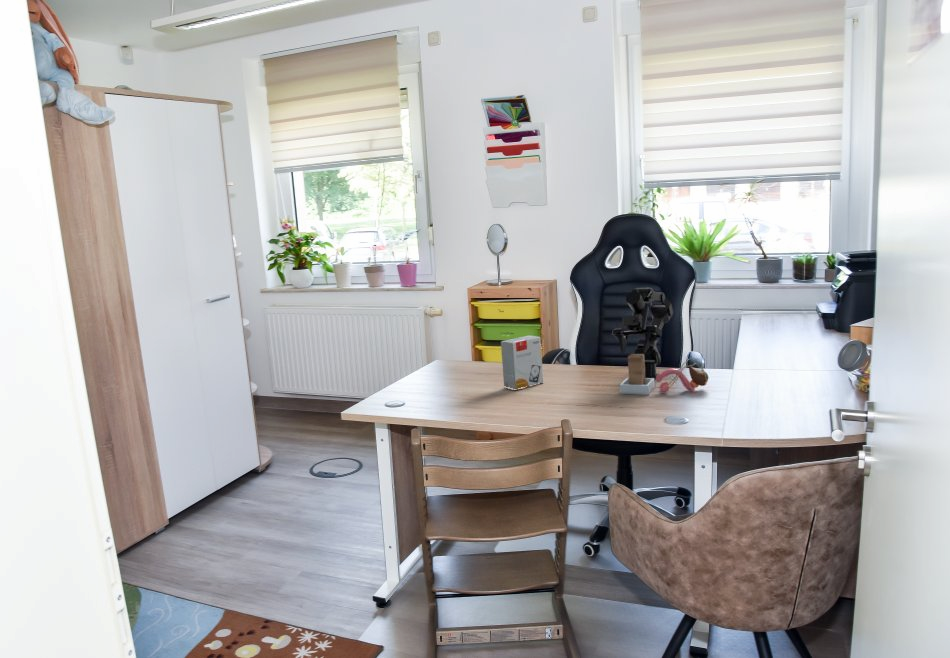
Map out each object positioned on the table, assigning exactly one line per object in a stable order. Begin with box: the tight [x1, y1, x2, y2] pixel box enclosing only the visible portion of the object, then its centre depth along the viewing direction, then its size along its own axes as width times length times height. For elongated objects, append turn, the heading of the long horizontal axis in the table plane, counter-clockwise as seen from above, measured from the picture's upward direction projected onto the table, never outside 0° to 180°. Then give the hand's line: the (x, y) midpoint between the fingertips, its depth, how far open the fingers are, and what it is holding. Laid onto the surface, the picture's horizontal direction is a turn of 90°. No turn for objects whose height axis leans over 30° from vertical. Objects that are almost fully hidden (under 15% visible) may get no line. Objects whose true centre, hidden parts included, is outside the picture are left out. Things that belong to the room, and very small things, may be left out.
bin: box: [619, 377, 656, 396], centre depth 262 cm, size 11×11×4 cm
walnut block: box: [627, 353, 646, 385], centre depth 261 cm, size 5×5×13 cm
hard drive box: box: [500, 335, 544, 389], centre depth 283 cm, size 16×8×20 cm, turn 126°
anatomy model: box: [655, 356, 710, 394], centre depth 255 cm, size 11×15×17 cm
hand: (633, 352), depth 263 cm, fingers open, 9 cm apart
